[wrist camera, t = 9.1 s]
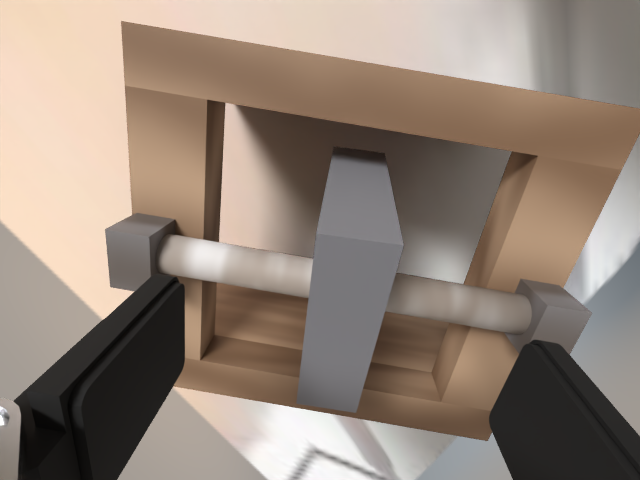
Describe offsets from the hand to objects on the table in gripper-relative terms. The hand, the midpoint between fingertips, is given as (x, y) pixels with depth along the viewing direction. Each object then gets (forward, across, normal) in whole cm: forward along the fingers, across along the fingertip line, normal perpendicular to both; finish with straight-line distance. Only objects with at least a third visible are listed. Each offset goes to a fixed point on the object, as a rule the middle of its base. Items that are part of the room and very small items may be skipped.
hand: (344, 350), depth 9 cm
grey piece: (+10, 0, 0) cm, 10 cm away
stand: (+17, 0, +1) cm, 17 cm away
